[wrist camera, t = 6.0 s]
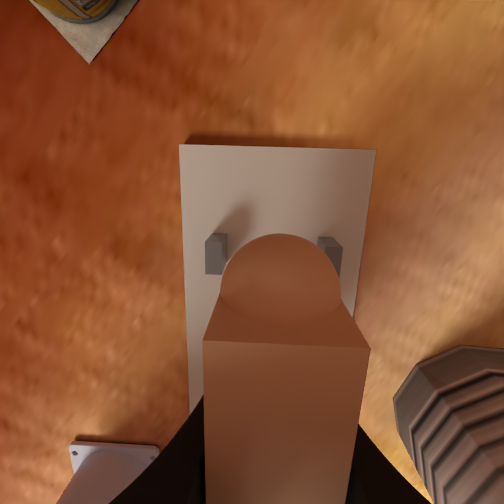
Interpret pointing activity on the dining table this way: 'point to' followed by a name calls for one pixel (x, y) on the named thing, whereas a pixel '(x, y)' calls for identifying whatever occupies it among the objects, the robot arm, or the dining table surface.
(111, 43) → the dining table surface
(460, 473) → the can
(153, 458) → the robot arm
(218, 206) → the cradle jig
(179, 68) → the dining table surface
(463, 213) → the dining table surface
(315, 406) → the block
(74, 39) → the condiment
